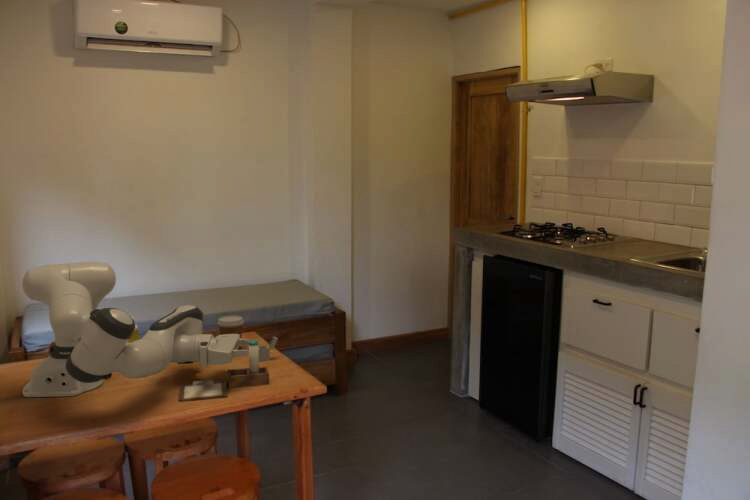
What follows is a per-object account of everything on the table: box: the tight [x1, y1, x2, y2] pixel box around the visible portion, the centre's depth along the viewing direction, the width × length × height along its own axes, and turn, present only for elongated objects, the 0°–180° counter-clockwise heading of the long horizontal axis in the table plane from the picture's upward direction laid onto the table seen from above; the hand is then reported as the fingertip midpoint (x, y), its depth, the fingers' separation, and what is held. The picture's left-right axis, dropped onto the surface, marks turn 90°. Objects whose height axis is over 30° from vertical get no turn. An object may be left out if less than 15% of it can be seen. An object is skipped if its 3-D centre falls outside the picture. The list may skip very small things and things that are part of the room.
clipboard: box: [177, 379, 228, 403], centre depth 195 cm, size 14×12×2 cm
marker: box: [248, 339, 260, 374], centre depth 203 cm, size 3×3×14 cm
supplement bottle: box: [127, 316, 140, 343], centre depth 231 cm, size 7×7×13 cm
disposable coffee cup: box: [217, 315, 245, 350], centre depth 234 cm, size 10×10×12 cm
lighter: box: [258, 336, 279, 362], centre depth 224 cm, size 7×2×8 cm, turn 113°
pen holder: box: [227, 366, 270, 389], centre depth 203 cm, size 12×7×4 cm, turn 105°
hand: (250, 347), depth 203 cm, fingers open, 8 cm apart
